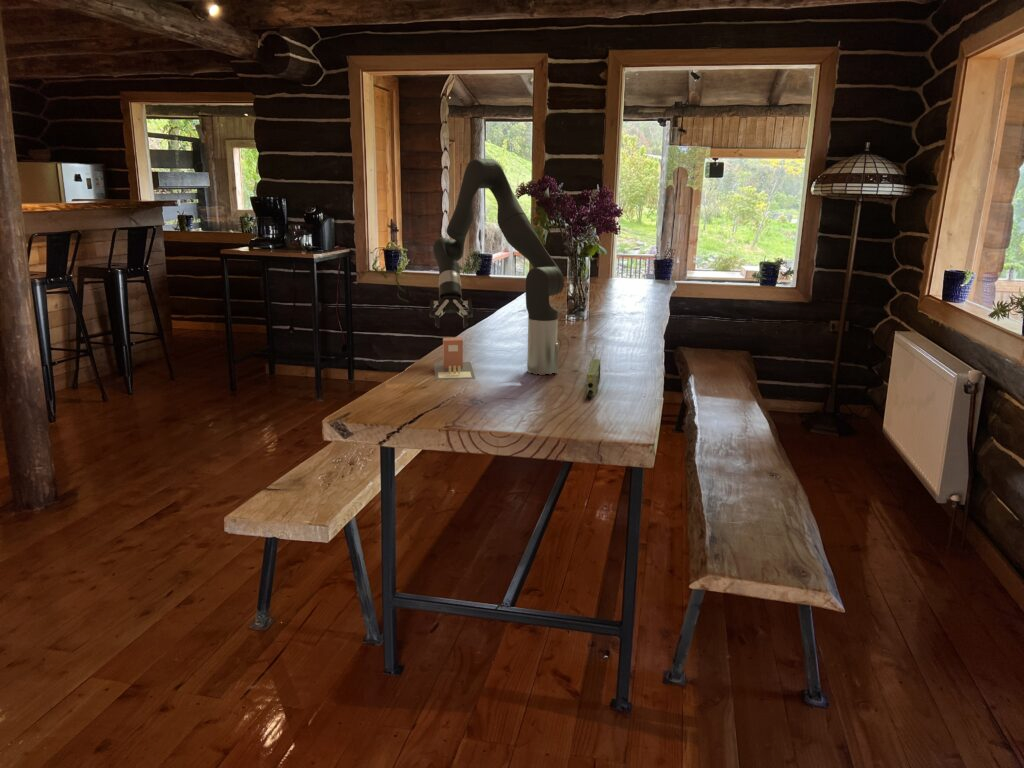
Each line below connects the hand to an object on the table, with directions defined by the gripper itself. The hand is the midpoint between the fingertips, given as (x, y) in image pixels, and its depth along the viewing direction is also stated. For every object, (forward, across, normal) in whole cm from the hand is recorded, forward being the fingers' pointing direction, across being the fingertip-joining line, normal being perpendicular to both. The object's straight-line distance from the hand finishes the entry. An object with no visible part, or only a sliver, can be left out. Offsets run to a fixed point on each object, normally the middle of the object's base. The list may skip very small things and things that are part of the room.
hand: (451, 326), depth 238 cm
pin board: (+18, 0, 0) cm, 18 cm away
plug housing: (+14, 0, +2) cm, 14 cm away
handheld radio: (+34, +39, -15) cm, 54 cm away
